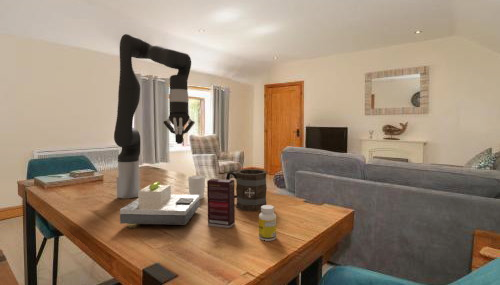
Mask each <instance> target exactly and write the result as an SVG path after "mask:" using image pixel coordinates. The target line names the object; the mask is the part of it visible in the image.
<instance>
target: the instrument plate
mask: <svg viewBox="0 0 500 285" xmlns="http://www.w3.org/2000/svg"><path fill="white" fill-rule="evenodd" d="M198 200H199V201H200V199H199V195H190V194H171V184H162V183H161V181H156V182H154V183H152V184H149V185H147V186H145V187H143V188H142V189H141V188H140V191H138V197H137V199H135V200H133V201H132V202H130V203H129V204H126V205H125V206H123V207H122V208H120V209H119V215H120V214H145V215H186V214H187V213H188V211H189V210H190V209H191V208H192V207H193V206H194V204H195V203H196V202H197V201H198Z"/></svg>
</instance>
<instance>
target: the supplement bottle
mask: <svg viewBox="0 0 500 285" xmlns="http://www.w3.org/2000/svg"><path fill="white" fill-rule="evenodd" d="M260 211H261V212H260V213H259V215H258V237H259V239H260V240H262V241H264V240H265V241H266V242H270V241H274V240H276V239H277V215H276V213H274V212H275V207H274V206H273V205H270V204H267V205H263V206H261V210H260Z"/></svg>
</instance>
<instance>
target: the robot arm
mask: <svg viewBox="0 0 500 285" xmlns="http://www.w3.org/2000/svg"><path fill="white" fill-rule="evenodd" d="M132 58H134V59H142V60H145V59H146V60H151V61H153V62H154V63H157V64H159V65H164V66H165V67H167V68H169V69H175V70H178V72H177V74H172V75H170V77H169V98H168V99H169V104H168V105H169V106H168V107H169V115H168V118H167V119H166V120H164V121H163V122H162V123H163V124H164V125H165V127H166V128H167V129H168V131H169V132H170V133H171V134H174V136H175V143H176V144H177V145H179V144H180V145H182V144H183V143H184V135H185V134H187V133H189V131H191V129H192V127H193V126H194V125H195V123H196V121H195V120H192V119H191V117H190V114H189V100H190V99H189V93H188V92H189V91H188V79H189V76H190V71H191V68H192V59H191V57H190V55H189V54H188V53H187V52H186V53H185V52H183V51H179V50H176V49H171V48H167V47H164V46H162V45H152V44H151V43H149V42H147V41H145V40H144V39H142V38H140V37H136V36H134V35H131V34H128V33H126V34H122V36H121V38H120V42H119V82H118V93H117V94H118V96H117V97H118V100H117V110H116V112H117V115H116V121H115V128H114V132H113V133H114V134H113V140H114V142H115V144H116V146H117V147H119V148H121V151H120V153H119V154H118V155H117V176H118V177H116V178H115V179H116V198H117V199H118V198H119V199H124V200H125V199H134V198H138V191H140V190H141V188H140V155H141V134H140V132H139V130H138V129H136V128H135V127H133V121H134V115H135V113H136V111H137V109H138V106H139V105H140V99H141V85H140V81H139V79H138V78H137V75H136V74H135V71H134V69H133V60H132ZM186 124H187V126H186ZM172 125H173V126H172Z"/></svg>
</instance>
